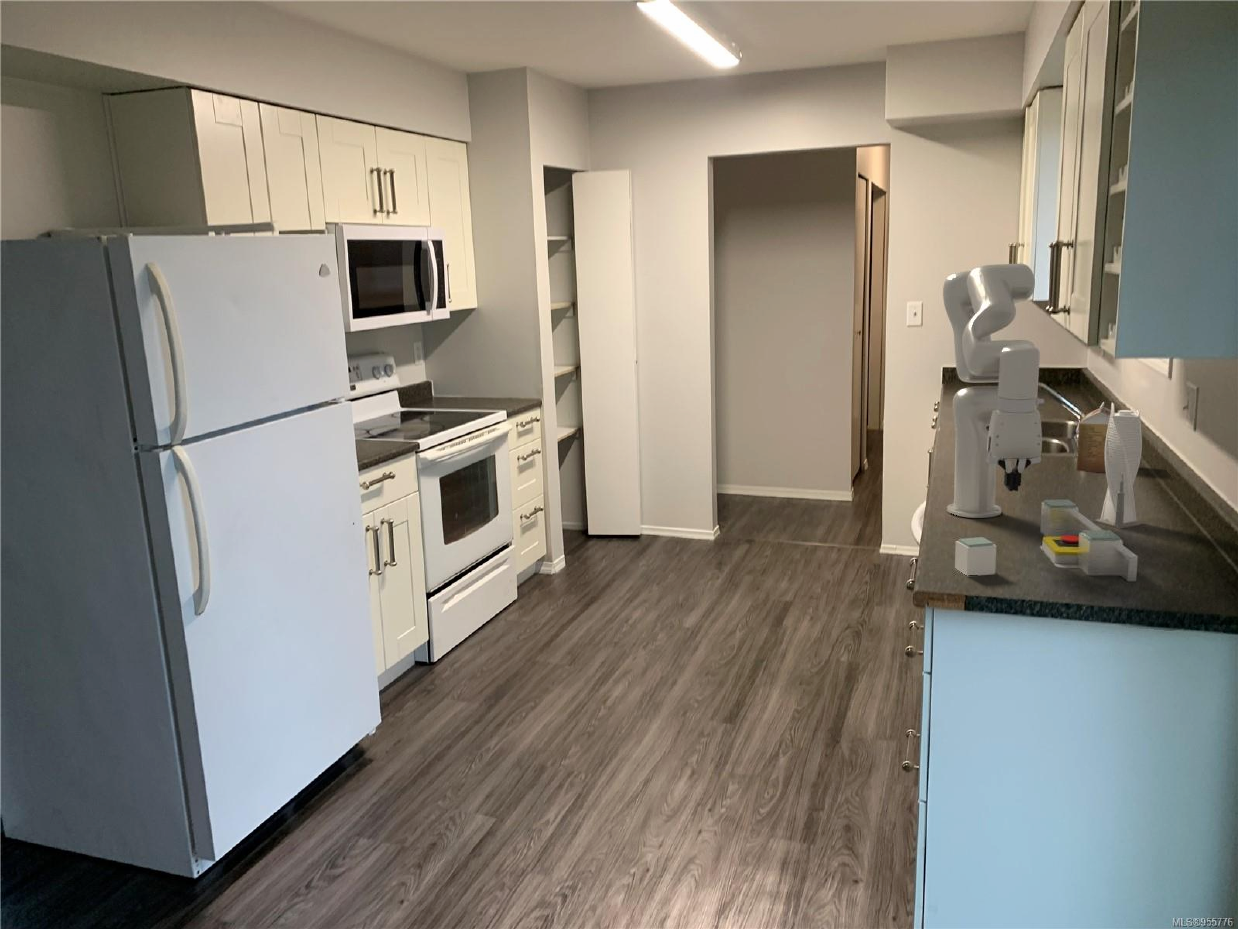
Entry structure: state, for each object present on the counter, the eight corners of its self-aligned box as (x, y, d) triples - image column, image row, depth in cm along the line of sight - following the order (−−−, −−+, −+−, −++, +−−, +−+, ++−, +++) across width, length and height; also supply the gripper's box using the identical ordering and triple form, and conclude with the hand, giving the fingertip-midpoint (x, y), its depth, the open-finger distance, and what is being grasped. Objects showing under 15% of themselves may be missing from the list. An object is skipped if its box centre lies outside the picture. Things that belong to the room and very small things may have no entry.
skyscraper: (1089, 520, 215) (1096, 403, 209) (1115, 515, 218) (1122, 400, 212) (1119, 528, 207) (1127, 407, 202) (1146, 524, 210) (1154, 404, 204)
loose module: (954, 569, 186) (955, 538, 185) (982, 566, 187) (983, 536, 185) (966, 576, 181) (967, 545, 180) (995, 574, 182) (996, 543, 180)
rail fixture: (1035, 527, 212) (1037, 495, 210) (1069, 527, 210) (1071, 495, 209) (1094, 581, 175) (1096, 543, 173) (1136, 581, 174) (1138, 543, 172)
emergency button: (1085, 529, 195) (1108, 550, 181) (1084, 549, 196) (1106, 571, 182) (1039, 529, 197) (1058, 549, 183) (1038, 548, 198) (1057, 570, 183)
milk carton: (1117, 473, 260) (1121, 407, 256) (1076, 470, 265) (1080, 406, 262) (1120, 465, 269) (1124, 402, 265) (1080, 463, 274) (1083, 401, 270)
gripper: (1049, 400, 191) (1043, 483, 196) (975, 402, 193) (971, 484, 198) (1060, 407, 184) (1054, 494, 188) (983, 409, 186) (979, 494, 191)
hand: (1012, 489), depth 193 cm, fingers closed
